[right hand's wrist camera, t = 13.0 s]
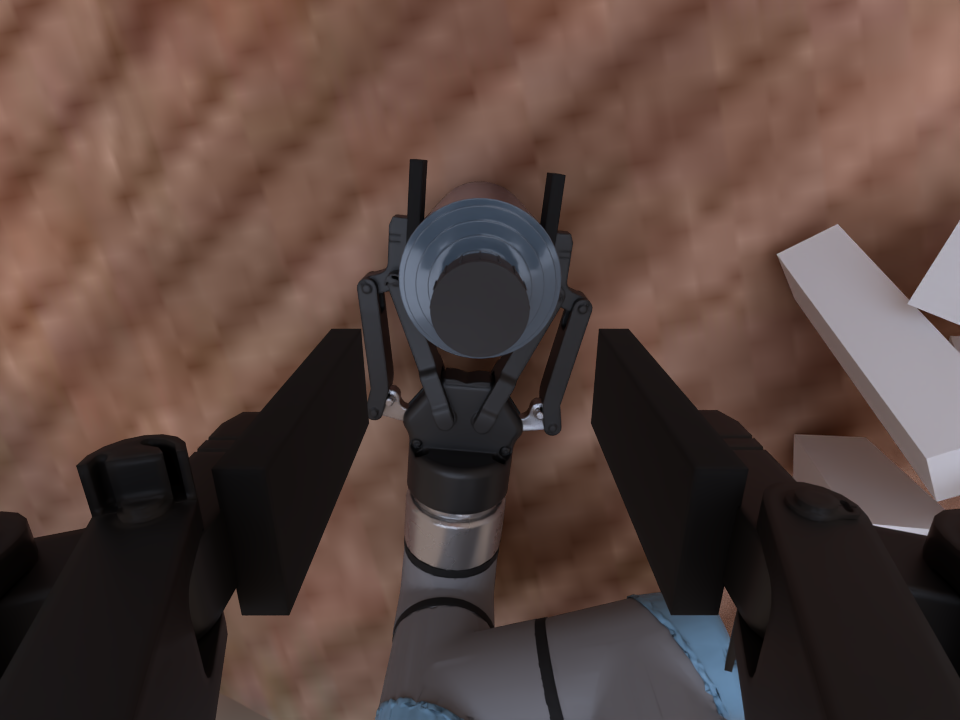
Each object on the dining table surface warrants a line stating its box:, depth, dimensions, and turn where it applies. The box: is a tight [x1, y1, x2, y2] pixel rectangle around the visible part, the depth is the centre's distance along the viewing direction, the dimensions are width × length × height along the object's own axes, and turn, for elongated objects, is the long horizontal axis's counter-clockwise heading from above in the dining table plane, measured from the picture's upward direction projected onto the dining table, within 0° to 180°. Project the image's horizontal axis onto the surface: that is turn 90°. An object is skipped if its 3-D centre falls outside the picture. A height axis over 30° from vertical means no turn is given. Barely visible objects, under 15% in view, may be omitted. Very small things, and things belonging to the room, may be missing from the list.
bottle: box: [399, 182, 561, 358], centre depth 30 cm, size 8×8×21 cm
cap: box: [429, 252, 530, 357], centre depth 21 cm, size 4×4×2 cm
